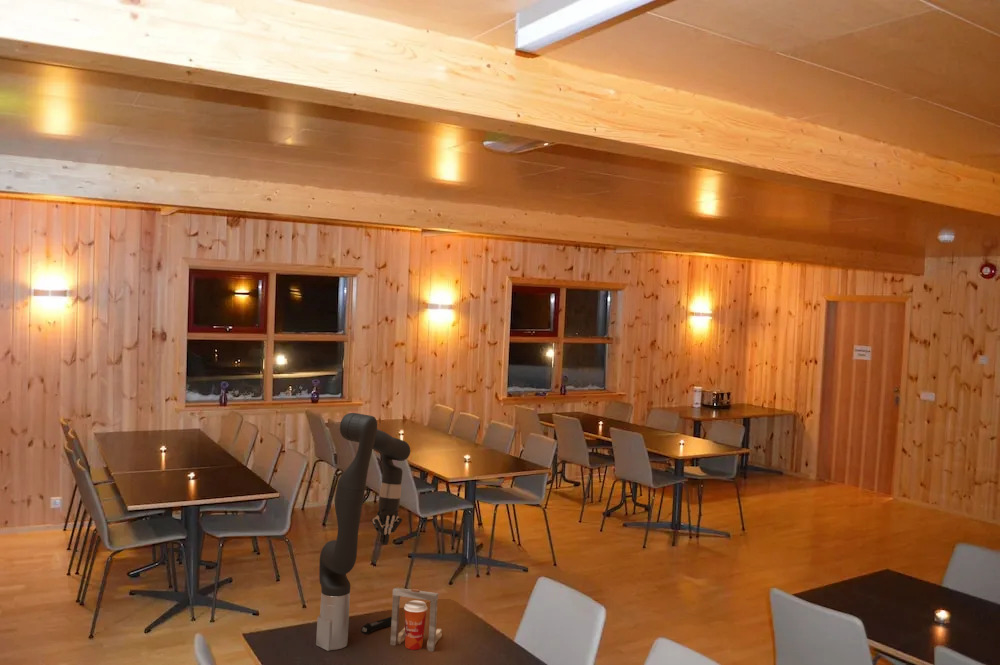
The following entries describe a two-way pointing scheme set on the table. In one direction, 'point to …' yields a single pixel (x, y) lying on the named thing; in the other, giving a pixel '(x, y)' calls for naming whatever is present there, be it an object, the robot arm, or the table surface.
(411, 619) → the paper cup
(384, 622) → the electric trimmer
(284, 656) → the table surface
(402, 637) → the guide arch
